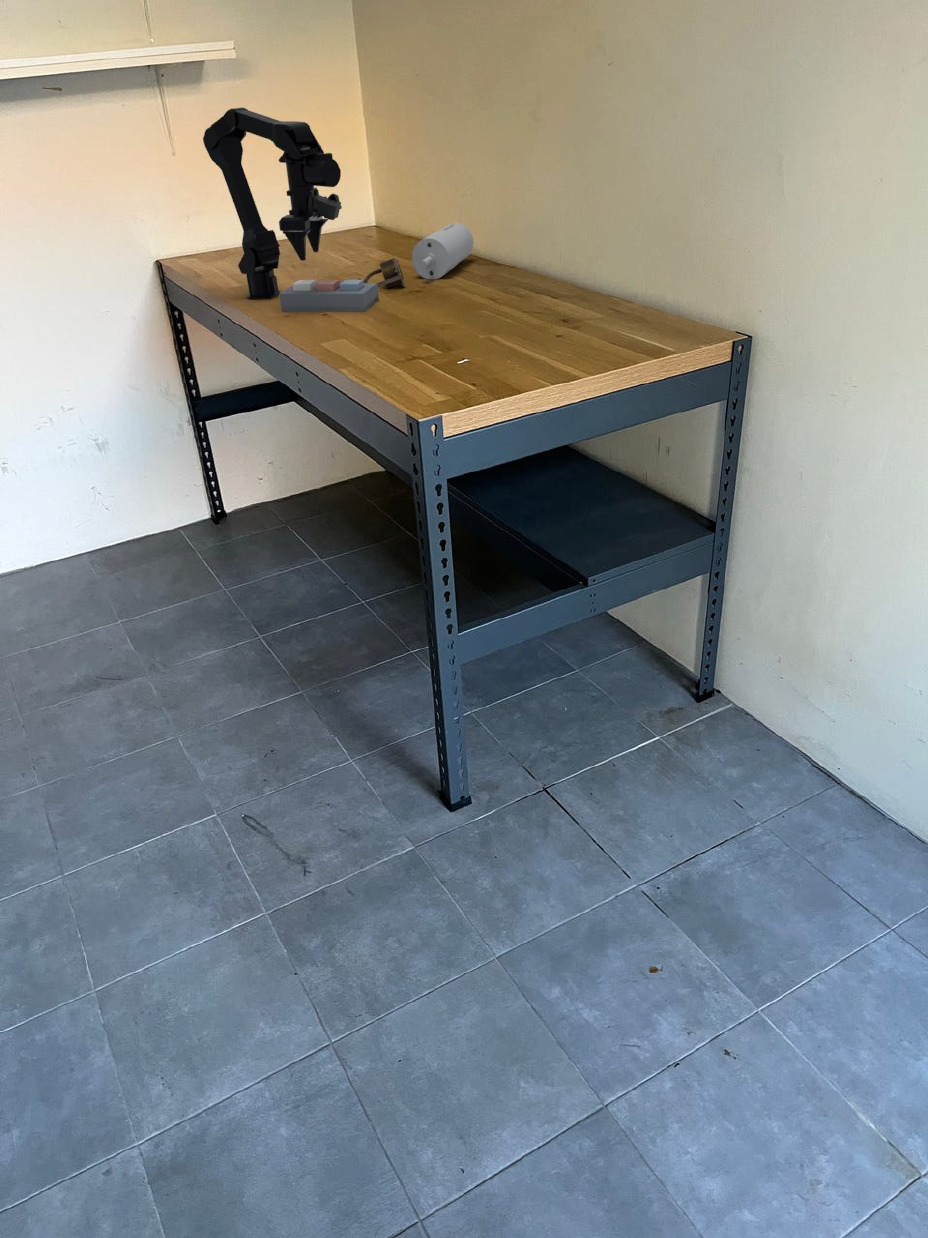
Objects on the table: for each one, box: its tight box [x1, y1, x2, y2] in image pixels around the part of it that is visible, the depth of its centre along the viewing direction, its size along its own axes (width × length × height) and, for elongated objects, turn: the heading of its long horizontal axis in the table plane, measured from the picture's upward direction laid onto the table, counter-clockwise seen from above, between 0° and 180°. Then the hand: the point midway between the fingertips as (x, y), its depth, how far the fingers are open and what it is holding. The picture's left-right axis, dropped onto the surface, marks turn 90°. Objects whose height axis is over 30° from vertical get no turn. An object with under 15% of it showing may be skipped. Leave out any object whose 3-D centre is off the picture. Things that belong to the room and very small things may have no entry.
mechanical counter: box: [356, 257, 406, 289], centre depth 238 cm, size 7×13×10 cm
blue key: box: [340, 279, 364, 291], centre depth 223 cm, size 4×4×3 cm
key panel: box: [278, 282, 380, 313], centre depth 225 cm, size 21×11×4 cm, turn 77°
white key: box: [292, 279, 318, 291], centre depth 225 cm, size 4×4×3 cm
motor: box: [411, 222, 474, 280], centre depth 250 cm, size 30×10×10 cm, turn 163°
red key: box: [316, 279, 341, 291], centre depth 224 cm, size 4×4×3 cm
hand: (309, 255), depth 223 cm, fingers open, 9 cm apart
